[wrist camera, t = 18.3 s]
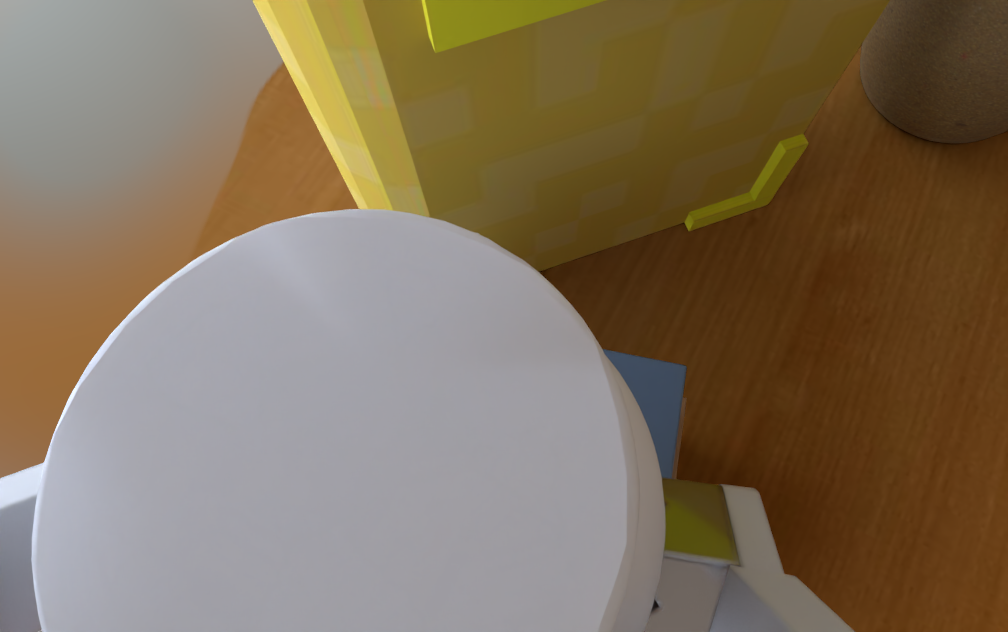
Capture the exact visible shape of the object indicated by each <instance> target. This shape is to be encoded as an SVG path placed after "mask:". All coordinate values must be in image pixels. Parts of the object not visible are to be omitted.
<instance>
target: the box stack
mask: <svg viewBox="0 0 1008 632" xmlns="http://www.w3.org/2000/svg"><path fill="white" fill-rule="evenodd" d="M602 350H603V352H604V354H605V355H606V356H607V358H608V359H609V360H610V361H611V363H612V364H613V365H614V366H615V368H616V369H617V370H618V371H619V373H620V374H621V376H622V378H623V379H624V381H625V382H626V384H627V386H628V387H629V389H630V391H631V392H632V394H633V396H634V398H635V400H636V402H637V403H638V405H639V407H640V409H641V412H642V414H643V416H644V419H645V421H646V423H647V426H648V428H649V431H650V434H651V437H652V440H653V443H654V446H655V450H656V454H657V458H658V462H659V467H660V472H661V476H662V477H668V478H675V479H676V476H677V468H678V461H679V453H680V446H681V438H682V431H683V423H684V416H685V409H686V401H687V399H686V398H685V397H683V392H684V385H685V377H686V370H687V368H686V366H685V365H681V364H676V363H671V362H666V361H661V360H656V359H651V358H646V357H641V356H635V355H630V354H625V353H620V352H615V351H610V350H605V349H602Z"/></svg>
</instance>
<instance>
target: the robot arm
mask: <svg viewBox="0 0 1008 632" xmlns="http://www.w3.org/2000/svg"><path fill="white" fill-rule="evenodd" d="M43 466H44V463H42V464H40V465H37V466H34V467H31V468H28V469H25V470H23V471H20V472H17V473H14V474H11V475H9V476H6V477H3V478H0V632H38V631H40V630H41V629H42V628H41V624H40V620H39V615H38V609H37V603H36V597H35V591H34V582H33V571H32V561H31V557H32V533H33V524H34V514H35V505H36V500H37V494H38V489H39V485H40V480H41V476H42V471H43ZM662 487H663V496H664V504H665V525H666V528H665V545H664V553H663V560H662V567H661V573H660V579H659V584H658V587H657V590H656V594H655V598H654V603H653V607H652V610H651V613H650V616H649V619H648V622H647V625H646V628H645V630H644V632H855V631H854V630H853V629H852V628H851V627H850V626H848V625H847V624H846V623H845V622H844V621H843V620H842V619H841V618H840V617H839V616H838V615H837V614H836V613H835V612H833V611H832V610H831V609H830V608H829V607H828V606H827V605H826V604H825V603H824V602H823V601H822V600H821V599H820V598H819V597H817V596H816V595H815V594H814V593H813V592H812V591H811V590H810V589H809V588H808V587H807V586H806V585H805V584H804V583H802V582H801V581H800V580H799V579H798V578H797V577H796V576H792V575H787V574H784V571H783V567H782V564H781V561H780V558H779V555H778V551H777V548H776V545H775V542H774V538H773V535H772V532H771V529H770V525H769V522H768V519H767V516H766V512H765V509H764V506H763V503H762V500H761V496H760V493H759V492H758V491H757V490H756V489H755V488H749V487H741V486H733V485H725V484H719V485H716V484H709V483H702V482H695V481H689V480H682V479H675V478H668V477H662Z"/></svg>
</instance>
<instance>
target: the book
mask: <svg viewBox="0 0 1008 632" xmlns="http://www.w3.org/2000/svg"><path fill="white" fill-rule="evenodd" d="M889 1H890V0H253V3H254V4H255V6H256V8H257V10H258V12H259V14H260V16H261V18H262V20H263V22H264V24H265V26H266V28H267V30H268V32H269V34H270V36H271V38H272V40H273V41H274V43H275V45H276V47H277V49H278V51H279V53H280V55H281V57H282V59H283V61H284V63H285V65H286V67H287V69H288V71H289V73H290V75H291V77H292V79H293V81H294V83H295V85H296V86H297V88H298V90H299V92H300V94H301V96H302V98H303V100H304V102H305V104H306V106H307V108H308V110H309V112H310V114H311V116H312V118H313V120H314V122H315V124H316V126H317V127H318V129H319V131H320V133H321V135H322V137H323V139H324V141H325V143H326V145H327V147H328V149H329V151H330V153H331V155H332V157H333V159H334V161H335V163H336V165H337V166H338V168H339V170H340V172H341V174H342V176H343V178H344V180H345V182H346V184H347V186H348V188H349V190H350V192H351V194H352V196H353V198H354V200H355V202H356V204H357V206H358V207H359V209H377V210H391V211H399V212H407V213H412V214H416V215H421V216H425V217H429V218H434V219H438V220H442V221H446V222H448V223H451V224H454V225H456V226H459V227H461V228H464V229H466V230H469V231H472V232H474V233H479V234H480V235H481V236H484V237H486V238H488V239H490V240H491V241H493V242H495V243H496V244H498V245H499V246H501V247H502V248H504V249H506V250H507V251H509V252H511V253H512V254H514V255H516V256H517V257H519V258H521V259H522V260H524V261H525V262H527V263H528V264H529V265H530V266H532V267H533V268H534V269H535V270H537V271H538V272H539V271H542V270H545V269H548V268H551V267H554V266H557V265H560V264H563V263H566V262H569V261H572V260H575V259H578V258H581V257H584V256H587V255H590V254H593V253H596V252H599V251H602V250H605V249H607V248H610V247H613V246H616V245H619V244H622V243H625V242H628V241H631V240H634V239H637V238H640V237H643V236H646V235H649V234H652V233H655V232H658V231H661V230H664V229H667V228H670V227H673V226H676V225H679V224H682V223H684V222H685V225H686V227H687V229H688V231H692V230H695V229H698V228H701V227H704V226H707V225H710V224H713V223H716V222H719V221H722V220H725V219H728V218H731V217H734V216H736V215H739V214H742V213H745V212H748V211H751V210H754V209H757V208H760V207H763V206H766V205H768V204H769V203H770V201H771V200H772V198H773V197H774V195H775V193H776V192H777V190H778V189H779V187H780V186H781V184H782V183H783V181H784V180H785V178H786V177H787V175H788V174H789V172H790V171H791V169H792V168H793V167H794V165H795V164H796V162H797V161H798V159H799V158H800V156H801V155H802V153H803V152H804V150H805V149H806V147H807V146H808V144H809V143H808V141H807V140H806V138H805V136H804V132H805V131H806V129H807V128H808V126H809V125H810V123H811V122H812V120H813V118H814V117H815V115H816V114H817V112H818V111H819V109H820V108H821V106H822V105H823V103H824V101H825V100H826V98H827V97H828V95H829V94H830V92H831V91H832V89H833V88H834V86H835V85H836V83H837V81H838V80H839V78H840V77H841V75H842V74H843V72H844V71H845V69H846V68H847V66H848V64H849V63H850V61H851V60H852V58H853V57H854V55H855V54H856V52H857V51H858V49H859V47H860V46H861V44H862V43H863V41H864V40H865V38H866V37H867V35H868V34H869V32H870V31H871V29H872V27H873V26H874V24H875V23H876V21H877V20H878V18H879V17H880V15H881V14H882V12H883V10H884V9H885V7H886V6H887V4H888V3H889Z"/></svg>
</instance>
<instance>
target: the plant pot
mask: <svg viewBox="0 0 1008 632" xmlns="http://www.w3.org/2000/svg"><path fill="white" fill-rule="evenodd" d="M860 75H861V81H862V84H863V87H864V90H865V92H866V94H867V96H868V98H869V100H870V101H871V103H872V104H873V105H874V107H875V108H876V109H877V110H878V111H879V113H881V114H882V115H883V116H884V117H885V118H886V119H887V120H889V121H890V122H891V123H893V124H894V125H896V126H897V127H899V128H900V129H902V130H904V131H906V132H908V133H910V134H912V135H915V136H917V137H920V138H923V139H926V140H930V141H935V142H941V143H970V142H975V141H979V140H984V139H987V138H990V137H992V136H995V135H998V134H1001V133H1004V132H1006V131H1008V0H890V1H889V3H888V4H887V6H886V7H885V9H884V10H883V12H882V14H881V15H880V17H879V18H878V20H877V21H876V23H875V24H874V26H873V27H872V29H871V31H870V32H869V34H868V35H867V37H866V38H865V40H864V41H863V43H862V47H861V58H860Z"/></svg>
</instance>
